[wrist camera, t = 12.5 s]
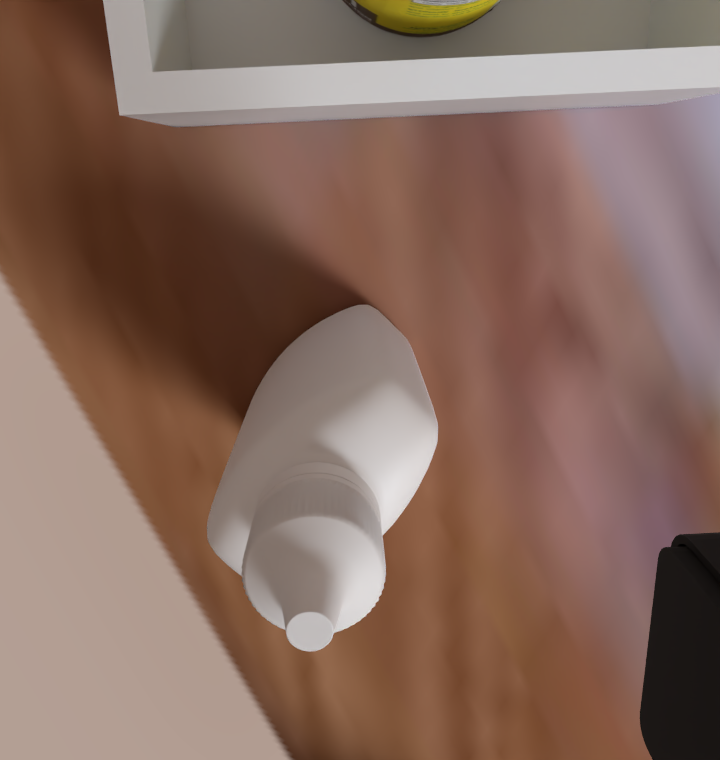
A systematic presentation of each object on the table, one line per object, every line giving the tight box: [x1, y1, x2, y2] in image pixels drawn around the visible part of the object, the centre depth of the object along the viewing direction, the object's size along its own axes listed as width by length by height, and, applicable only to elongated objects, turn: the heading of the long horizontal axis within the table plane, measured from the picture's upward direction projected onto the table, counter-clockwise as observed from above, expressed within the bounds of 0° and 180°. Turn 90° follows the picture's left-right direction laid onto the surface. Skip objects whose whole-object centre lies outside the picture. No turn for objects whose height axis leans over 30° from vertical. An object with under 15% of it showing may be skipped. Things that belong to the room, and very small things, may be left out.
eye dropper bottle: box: [207, 305, 438, 651], centre depth 16 cm, size 4×6×12 cm
